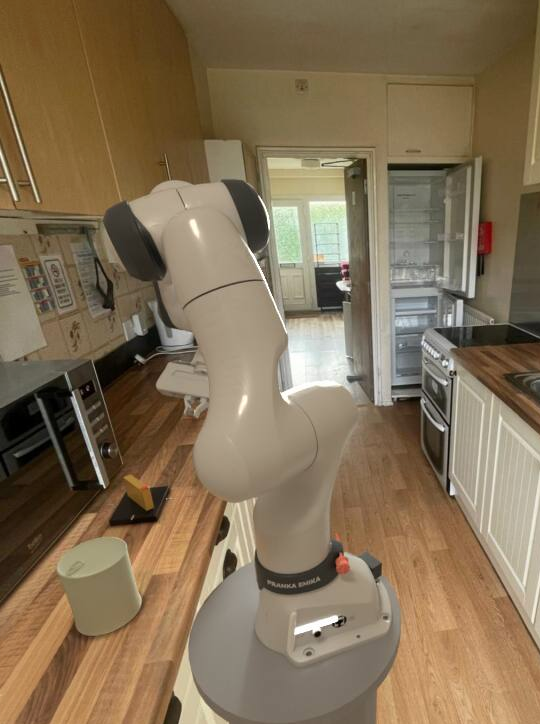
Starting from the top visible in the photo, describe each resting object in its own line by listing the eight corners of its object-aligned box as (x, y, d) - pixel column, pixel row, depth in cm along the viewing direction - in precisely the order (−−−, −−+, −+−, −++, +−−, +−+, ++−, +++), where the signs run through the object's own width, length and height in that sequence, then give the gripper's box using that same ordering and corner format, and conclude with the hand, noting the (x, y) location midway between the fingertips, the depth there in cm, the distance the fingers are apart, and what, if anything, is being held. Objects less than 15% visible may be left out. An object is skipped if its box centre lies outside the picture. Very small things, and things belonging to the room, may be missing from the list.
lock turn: (127, 496, 97) (122, 476, 95) (135, 493, 98) (130, 473, 96) (146, 511, 92) (142, 490, 90) (154, 507, 93) (149, 487, 91)
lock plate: (119, 494, 100) (117, 488, 99) (179, 488, 103) (178, 482, 102) (98, 529, 88) (96, 523, 88) (167, 522, 91) (165, 515, 90)
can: (61, 628, 66) (38, 568, 62) (110, 585, 75) (94, 529, 70) (108, 643, 64) (89, 581, 60) (154, 597, 72) (140, 540, 68)
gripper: (164, 351, 101) (140, 402, 95) (248, 365, 100) (229, 418, 94) (175, 365, 107) (153, 414, 101) (255, 379, 106) (236, 429, 100)
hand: (190, 416), depth 97 cm, fingers closed
